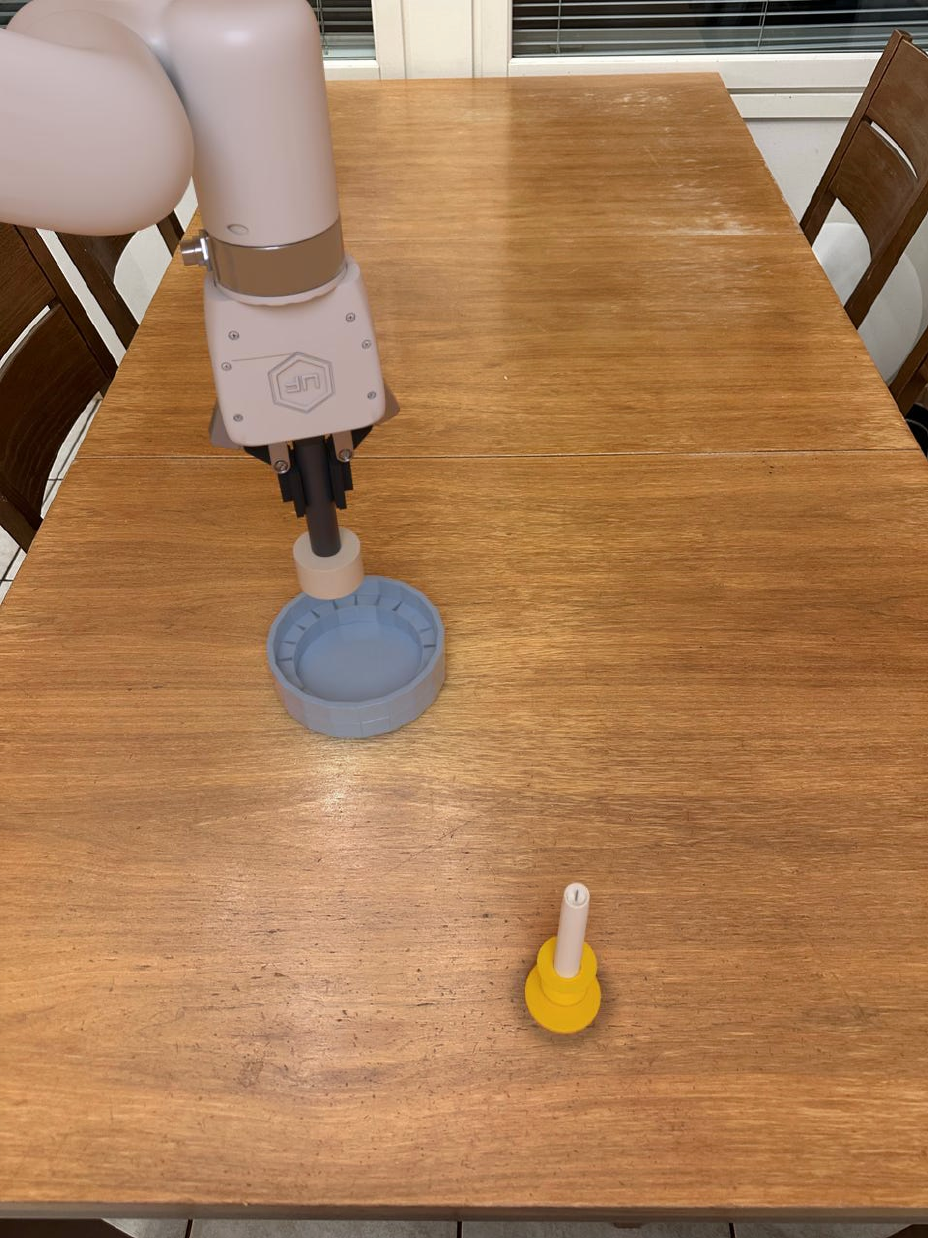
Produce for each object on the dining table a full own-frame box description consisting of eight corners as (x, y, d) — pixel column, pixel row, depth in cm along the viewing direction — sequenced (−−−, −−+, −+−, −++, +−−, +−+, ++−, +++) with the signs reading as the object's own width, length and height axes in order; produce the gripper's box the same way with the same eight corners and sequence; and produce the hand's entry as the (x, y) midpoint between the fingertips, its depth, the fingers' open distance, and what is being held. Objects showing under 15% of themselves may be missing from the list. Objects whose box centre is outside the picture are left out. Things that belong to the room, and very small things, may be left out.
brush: (303, 605, 70) (275, 465, 60) (293, 560, 73) (265, 421, 64) (370, 592, 71) (352, 451, 61) (357, 548, 74) (338, 408, 65)
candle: (590, 1044, 63) (613, 945, 51) (515, 1020, 64) (520, 918, 53) (607, 971, 66) (632, 862, 55) (535, 948, 67) (544, 838, 56)
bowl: (288, 761, 79) (278, 725, 75) (266, 630, 89) (257, 593, 85) (465, 720, 81) (463, 684, 77) (424, 598, 91) (421, 560, 87)
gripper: (134, 302, 49) (209, 558, 63) (431, 259, 52) (442, 513, 66) (129, 239, 54) (199, 489, 68) (400, 202, 57) (416, 450, 70)
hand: (318, 499), depth 67 cm, fingers closed on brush
